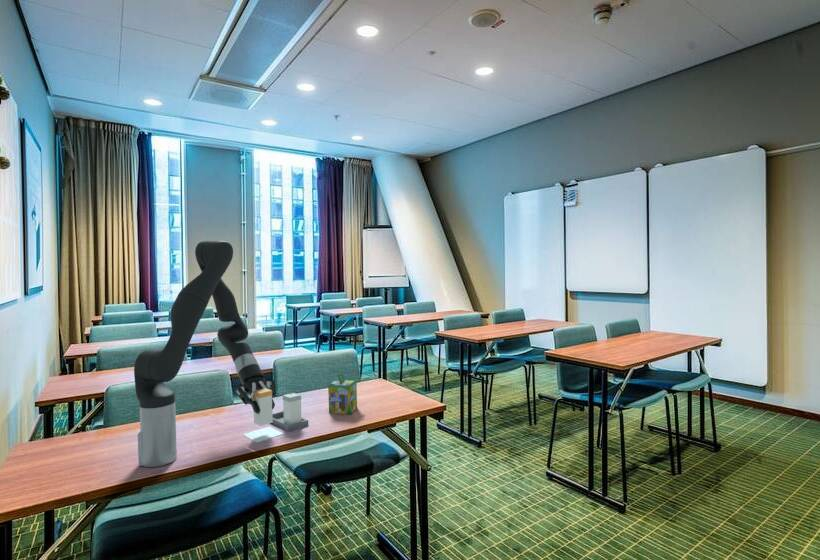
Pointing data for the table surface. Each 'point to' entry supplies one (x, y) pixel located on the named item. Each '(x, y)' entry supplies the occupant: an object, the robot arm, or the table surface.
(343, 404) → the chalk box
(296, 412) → the grey-band box
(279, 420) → the charcoal tray
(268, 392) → the orange-band box
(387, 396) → the table surface
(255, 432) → the blue-grey pad
